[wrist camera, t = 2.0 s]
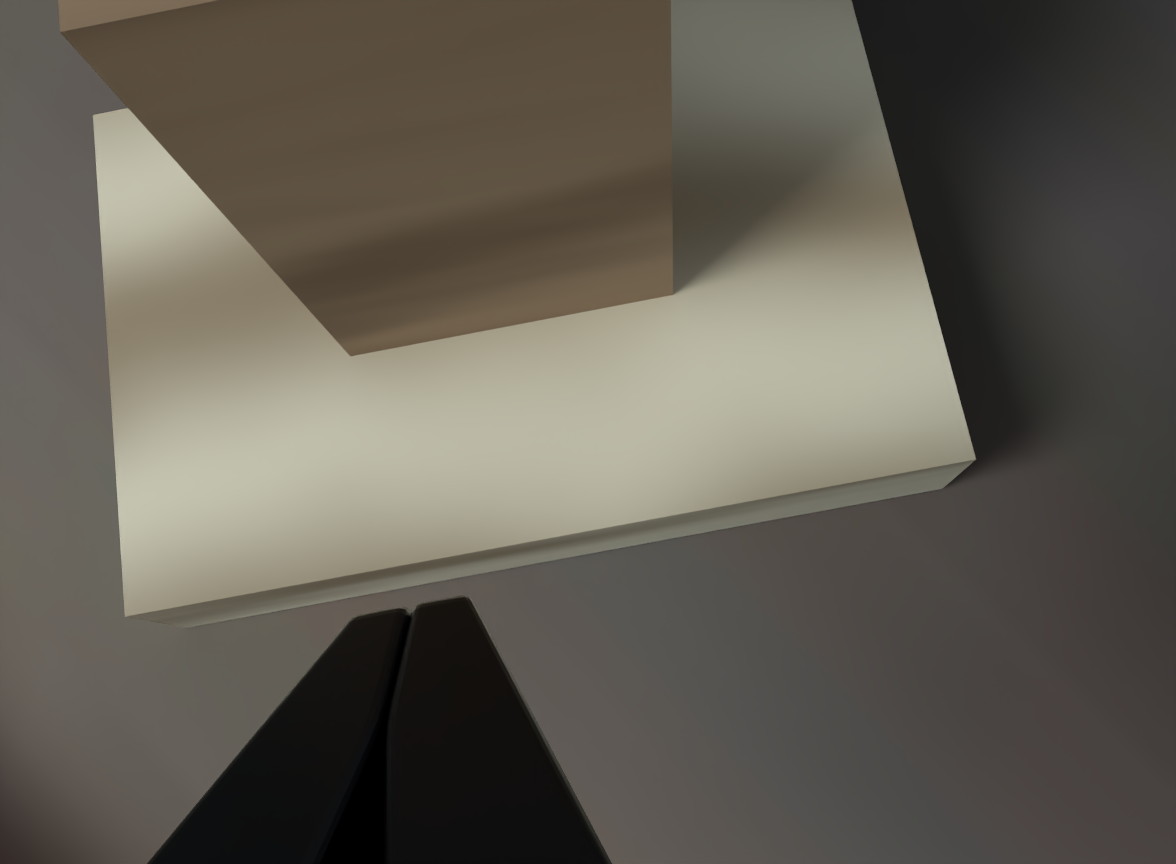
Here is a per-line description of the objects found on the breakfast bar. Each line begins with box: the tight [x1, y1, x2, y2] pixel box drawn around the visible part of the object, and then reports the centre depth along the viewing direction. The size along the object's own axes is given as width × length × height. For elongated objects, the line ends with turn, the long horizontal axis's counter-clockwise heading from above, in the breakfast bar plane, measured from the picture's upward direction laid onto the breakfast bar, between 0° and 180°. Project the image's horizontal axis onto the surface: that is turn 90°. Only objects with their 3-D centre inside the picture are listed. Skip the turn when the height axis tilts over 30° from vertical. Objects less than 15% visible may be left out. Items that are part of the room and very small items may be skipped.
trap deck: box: [93, 0, 976, 628], centre depth 23 cm, size 22×15×2 cm
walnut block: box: [58, 0, 673, 356], centre depth 16 cm, size 6×6×10 cm
